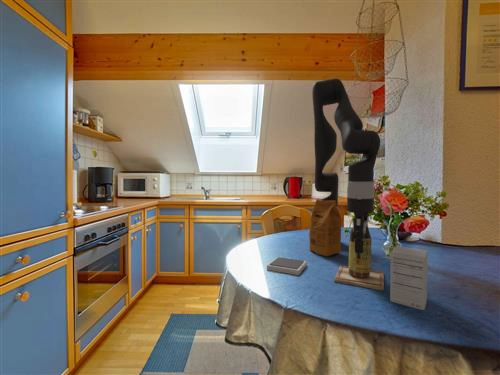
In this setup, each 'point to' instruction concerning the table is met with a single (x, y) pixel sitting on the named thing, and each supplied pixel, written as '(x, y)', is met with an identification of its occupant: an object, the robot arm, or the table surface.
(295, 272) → the ink pad
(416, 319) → the table surface
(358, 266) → the sauce bottle
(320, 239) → the coffee package
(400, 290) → the supplement box
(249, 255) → the table surface
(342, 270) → the marked board
